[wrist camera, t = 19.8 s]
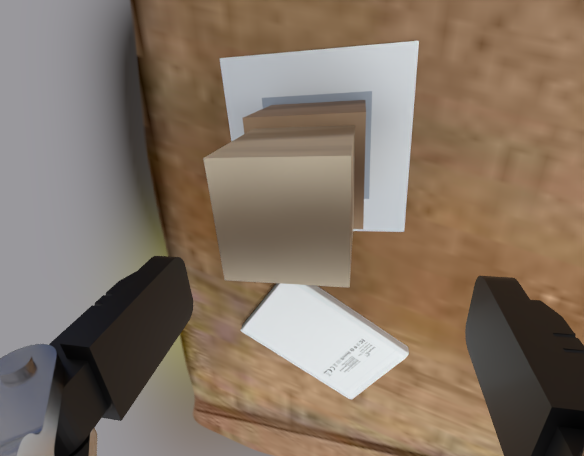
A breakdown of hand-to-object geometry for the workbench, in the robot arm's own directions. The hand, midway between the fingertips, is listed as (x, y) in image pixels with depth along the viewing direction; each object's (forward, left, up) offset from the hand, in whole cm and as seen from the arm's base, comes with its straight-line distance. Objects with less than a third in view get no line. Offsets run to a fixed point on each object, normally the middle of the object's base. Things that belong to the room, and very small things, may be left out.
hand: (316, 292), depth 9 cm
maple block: (-1, -2, -9) cm, 9 cm away
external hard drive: (+16, -2, -16) cm, 23 cm away
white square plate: (-1, -2, -15) cm, 16 cm away
